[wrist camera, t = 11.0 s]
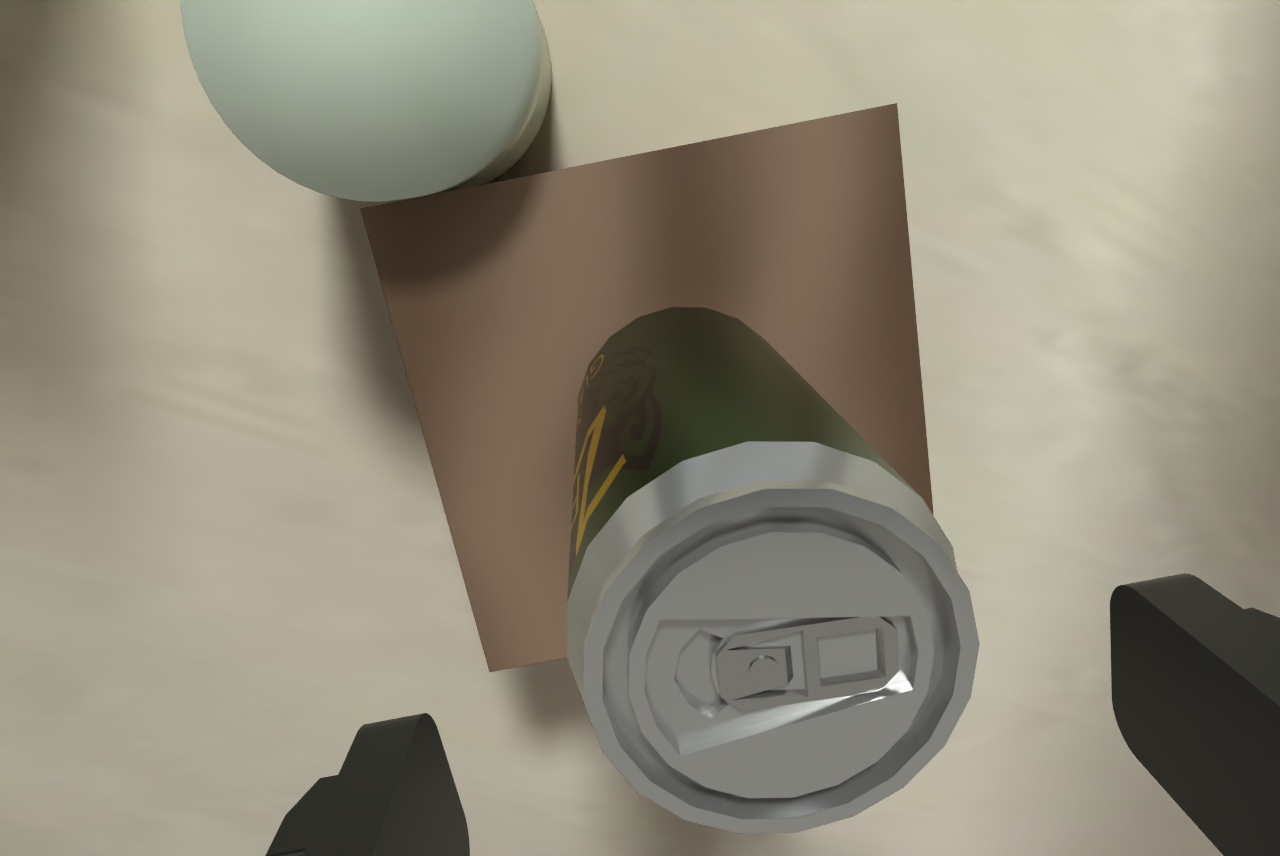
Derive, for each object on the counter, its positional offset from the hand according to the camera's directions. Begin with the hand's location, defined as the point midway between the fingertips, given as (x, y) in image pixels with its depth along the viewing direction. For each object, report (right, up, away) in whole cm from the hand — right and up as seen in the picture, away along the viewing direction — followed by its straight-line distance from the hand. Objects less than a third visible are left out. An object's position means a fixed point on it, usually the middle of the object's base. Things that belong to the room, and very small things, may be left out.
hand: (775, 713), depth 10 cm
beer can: (-1, +4, +12) cm, 13 cm away
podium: (-1, +5, +18) cm, 19 cm away
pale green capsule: (-8, +14, +15) cm, 22 cm away
